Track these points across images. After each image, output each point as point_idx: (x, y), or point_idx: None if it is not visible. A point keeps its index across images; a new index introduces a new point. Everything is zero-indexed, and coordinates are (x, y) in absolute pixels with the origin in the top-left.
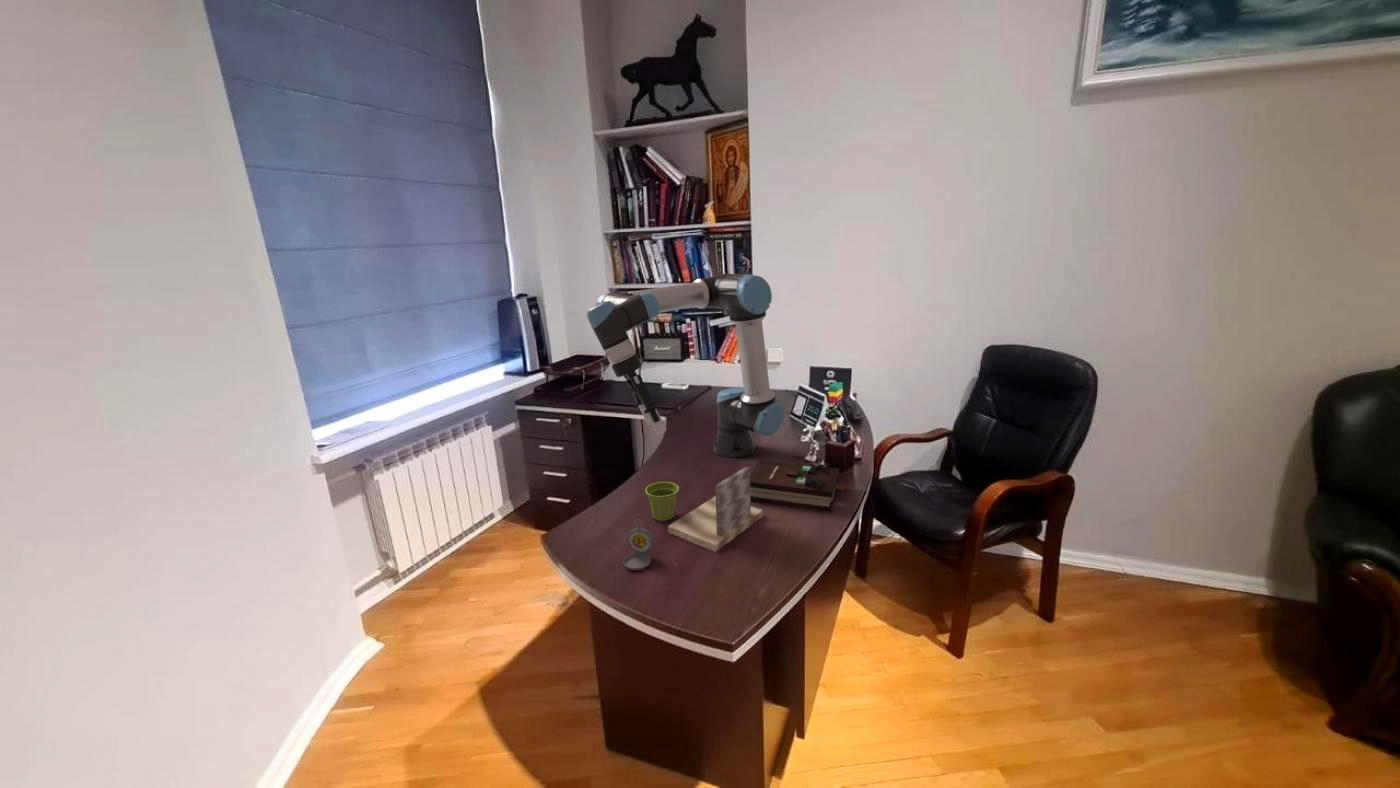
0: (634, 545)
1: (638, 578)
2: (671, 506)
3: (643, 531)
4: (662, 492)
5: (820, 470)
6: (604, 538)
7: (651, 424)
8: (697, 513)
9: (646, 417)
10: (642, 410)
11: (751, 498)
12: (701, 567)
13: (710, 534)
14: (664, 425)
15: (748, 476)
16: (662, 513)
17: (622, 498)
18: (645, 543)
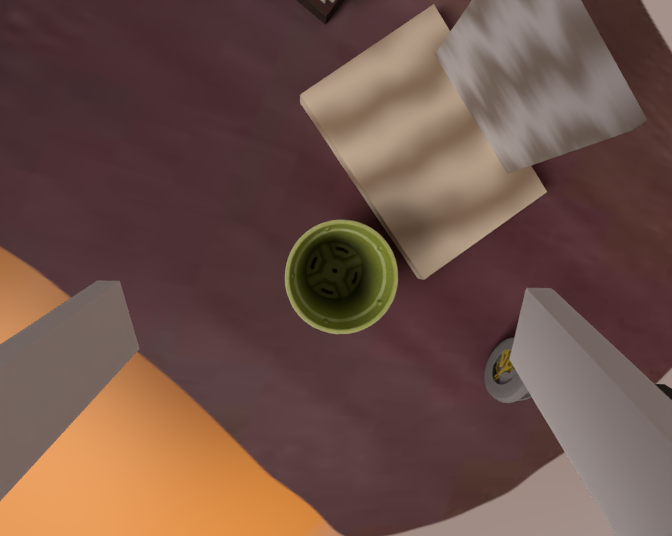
0: (499, 378)
1: None
2: (371, 255)
3: None
4: (298, 266)
5: None
6: (387, 427)
7: (132, 327)
8: (387, 186)
9: (84, 388)
10: (11, 467)
11: (338, 1)
12: (575, 242)
13: (500, 188)
14: (578, 313)
15: None
16: (368, 281)
17: (185, 361)
18: (507, 354)
